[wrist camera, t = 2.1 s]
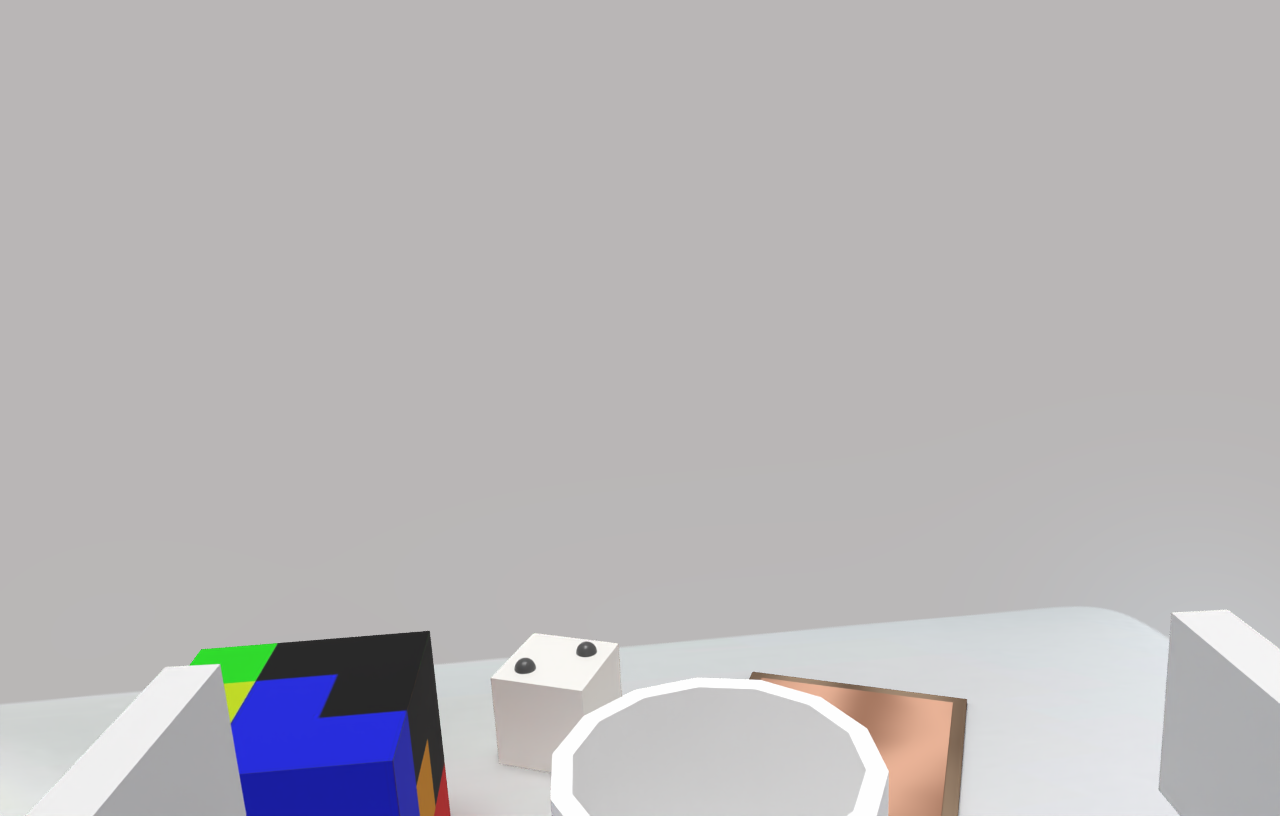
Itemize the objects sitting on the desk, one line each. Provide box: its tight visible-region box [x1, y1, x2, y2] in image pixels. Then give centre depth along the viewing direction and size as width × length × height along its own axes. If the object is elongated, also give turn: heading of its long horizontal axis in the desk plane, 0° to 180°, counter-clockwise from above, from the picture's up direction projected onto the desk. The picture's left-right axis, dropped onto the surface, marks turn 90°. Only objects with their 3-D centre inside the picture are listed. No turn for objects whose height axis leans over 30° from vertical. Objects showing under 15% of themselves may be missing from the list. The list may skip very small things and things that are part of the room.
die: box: [491, 633, 622, 773], centre depth 52 cm, size 5×5×6 cm
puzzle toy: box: [189, 631, 450, 816], centre depth 41 cm, size 10×10×10 cm
